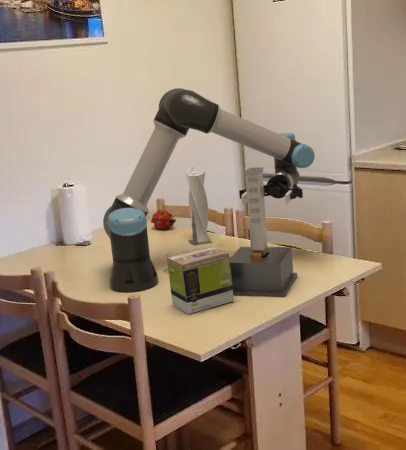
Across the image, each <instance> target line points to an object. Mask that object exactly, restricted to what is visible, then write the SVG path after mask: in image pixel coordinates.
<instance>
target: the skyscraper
mask: <svg viewBox="0 0 406 450" xmlns="http://www.w3.org/2000/svg"><path fill="white" fill-rule="evenodd" d="M190 170H191V173H190V174H188V173H189V171H190ZM185 174H186V175H185V177H186V180H187V183H188V187H189V188H188V189H189V190H188V208H189V216H190V220H191V228H192V234H191V235H192V239H188V240H187V241H188V243H190V244H191V245H193V246H200V245H201V246H202V245H205V244H211V243H213V241H212V240H211V238H210V236H209V234H208V222H209V204H208V197H207V192H206V189H205V186H204V184H205V177H206V171H205V170H203V171H201V172H200V171H196V170H195V171H194V167H193V166H190V167H188V169H187V171H186V173H185Z"/></svg>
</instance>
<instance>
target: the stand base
mask: <svg viewBox="0 0 406 450" xmlns="http://www.w3.org/2000/svg"><path fill="white" fill-rule="evenodd" d="M229 259H230V268H231V278H232V288H233V296H240V297H241V296H243V297H244V296H245V297H246V296H247V297H269V298H270V297H271V298H273V297H274V298H286V296H287V295H288V293H289V291H290V290H291V288H292V286H293V284H294V282H296V280H297V278H298V272H294V263H293V248H292V246H288V247H287V246H286V247H285V246H284V247H283V246H268V252H267V253H266V254H265V256H262V253H251V246H240V247H239V248H238V249H237V250H236V251H235V253H234V254H233V255H232V256H231V257H229Z"/></svg>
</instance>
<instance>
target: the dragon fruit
mask: <svg viewBox="0 0 406 450" xmlns="http://www.w3.org/2000/svg"><path fill="white" fill-rule="evenodd" d="M150 223H151V224H153V226H154V229H155V230H157V229H161V230H162V231H168V230H169V228H170V227H171V228H173V227H174V224H175V223H176V219H175V217H174V216H173V214H171V213H169V212H168V211H166V210H164V209H163V210H162V209H158V210H156V211H155V212H154V213H153V214H152V216H151V220H150Z"/></svg>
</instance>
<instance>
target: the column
mask: <svg viewBox="0 0 406 450" xmlns="http://www.w3.org/2000/svg"><path fill="white" fill-rule="evenodd" d="M243 172H244V176H245V184H246V188H245V189H247V202H246V204H247V213H248V217H247V218H248V227H249V230H248V231H249V241H250V243H249V244H250V247H251V253H262V256H265V254H266V253H267V252H268V247H269V246H268V238H267V236H268V235H267V233H268V232H267V220H266V219H267V218H266V207H265V206H266V205H265V203H266V202H265V197H264V187H263V185H264V178H263V177H264V176H263V174H264V173H263V172H264V167H249V168H248V169H246V170H244V171H243Z"/></svg>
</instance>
